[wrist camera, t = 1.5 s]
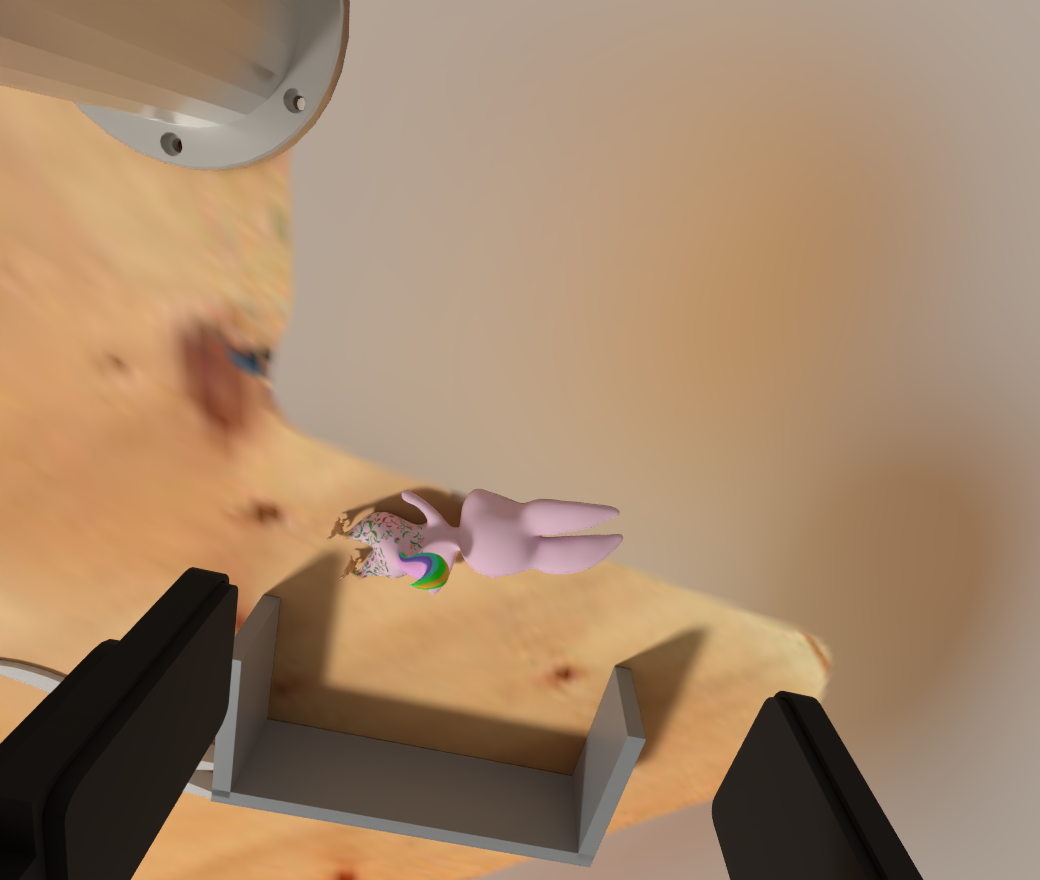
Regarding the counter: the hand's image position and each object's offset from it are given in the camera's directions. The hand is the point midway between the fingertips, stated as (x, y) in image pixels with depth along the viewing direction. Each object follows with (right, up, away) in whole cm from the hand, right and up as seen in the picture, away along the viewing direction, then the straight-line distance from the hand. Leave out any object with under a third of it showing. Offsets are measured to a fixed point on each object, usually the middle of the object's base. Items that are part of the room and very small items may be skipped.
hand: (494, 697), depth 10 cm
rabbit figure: (-2, 0, +22) cm, 22 cm away
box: (-5, -11, +26) cm, 29 cm away
